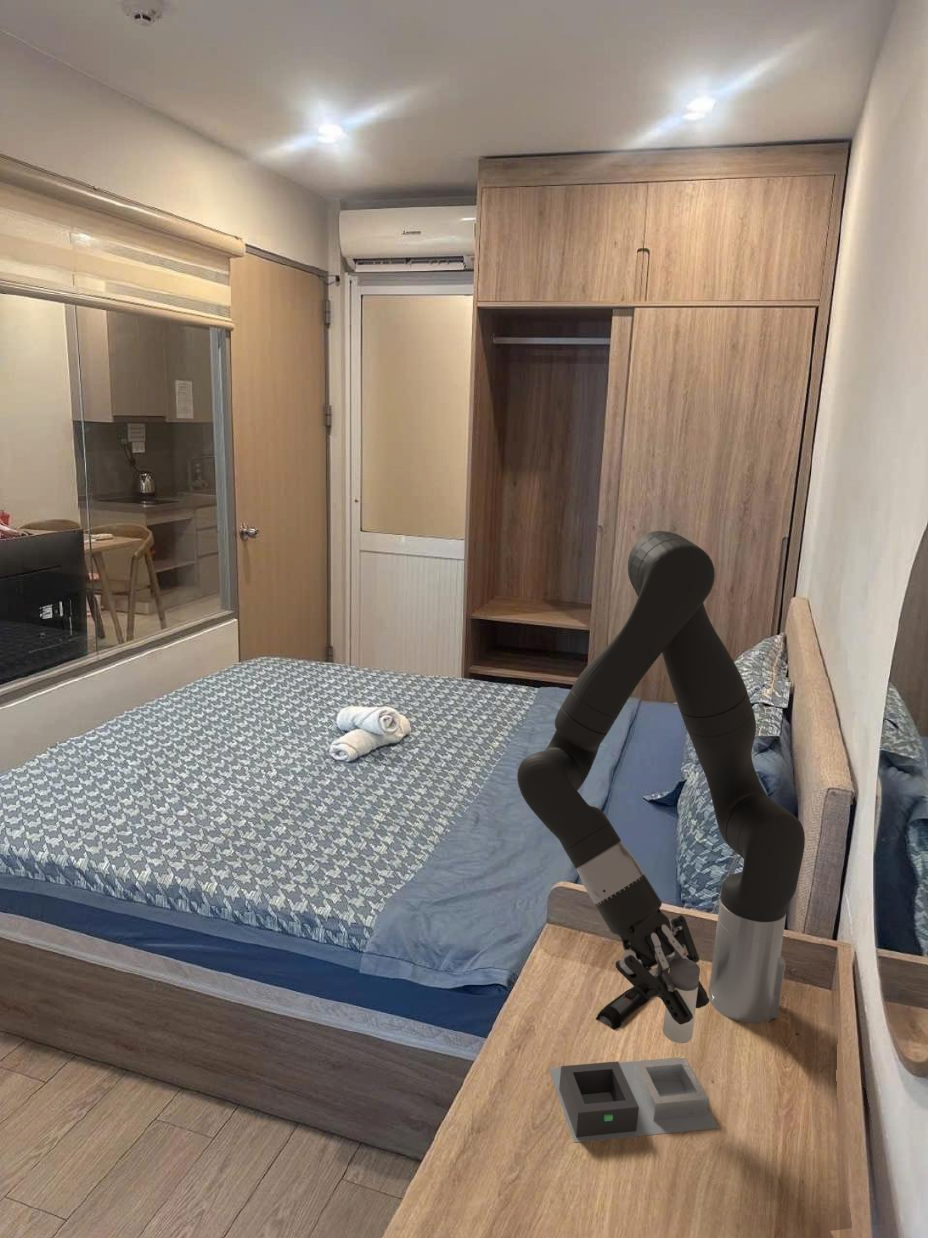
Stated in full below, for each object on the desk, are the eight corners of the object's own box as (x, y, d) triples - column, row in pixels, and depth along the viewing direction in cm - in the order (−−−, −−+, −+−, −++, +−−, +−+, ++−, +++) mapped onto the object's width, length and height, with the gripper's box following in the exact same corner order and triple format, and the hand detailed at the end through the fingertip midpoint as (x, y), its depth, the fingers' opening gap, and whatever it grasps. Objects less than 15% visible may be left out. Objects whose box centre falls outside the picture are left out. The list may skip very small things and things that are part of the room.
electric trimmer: (669, 992, 133) (671, 974, 132) (613, 1040, 122) (615, 1020, 121) (648, 981, 136) (650, 963, 135) (591, 1027, 125) (593, 1007, 124)
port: (615, 1084, 112) (617, 1061, 111) (637, 1133, 105) (639, 1109, 104) (559, 1089, 111) (561, 1066, 110) (576, 1139, 103) (578, 1115, 103)
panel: (679, 1063, 118) (679, 1057, 117) (718, 1134, 106) (719, 1128, 106) (548, 1075, 115) (548, 1068, 114) (573, 1149, 103) (574, 1142, 103)
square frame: (684, 1074, 114) (685, 1058, 114) (706, 1115, 108) (708, 1098, 107) (633, 1078, 113) (635, 1062, 113) (653, 1120, 107) (655, 1103, 106)
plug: (684, 1021, 110) (692, 957, 108) (697, 1041, 107) (705, 975, 105) (658, 1024, 110) (665, 959, 108) (669, 1044, 106) (677, 977, 104)
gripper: (605, 897, 104) (688, 1034, 99) (666, 856, 114) (743, 978, 109) (567, 919, 109) (644, 1050, 103) (628, 877, 119) (701, 995, 114)
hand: (694, 1012), depth 106 cm, fingers closed on plug, 3 cm apart
